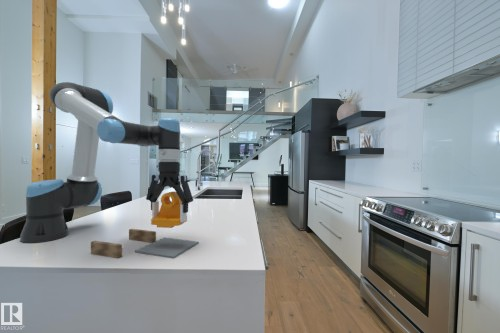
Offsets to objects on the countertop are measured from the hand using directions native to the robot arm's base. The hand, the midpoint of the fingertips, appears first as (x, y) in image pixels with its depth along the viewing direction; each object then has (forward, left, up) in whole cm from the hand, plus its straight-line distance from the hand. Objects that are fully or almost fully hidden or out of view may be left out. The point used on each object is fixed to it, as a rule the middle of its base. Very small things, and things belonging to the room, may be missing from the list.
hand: (169, 220), depth 89 cm
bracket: (0, 0, -2) cm, 2 cm away
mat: (0, 0, -10) cm, 10 cm away
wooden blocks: (-15, -5, -10) cm, 19 cm away
